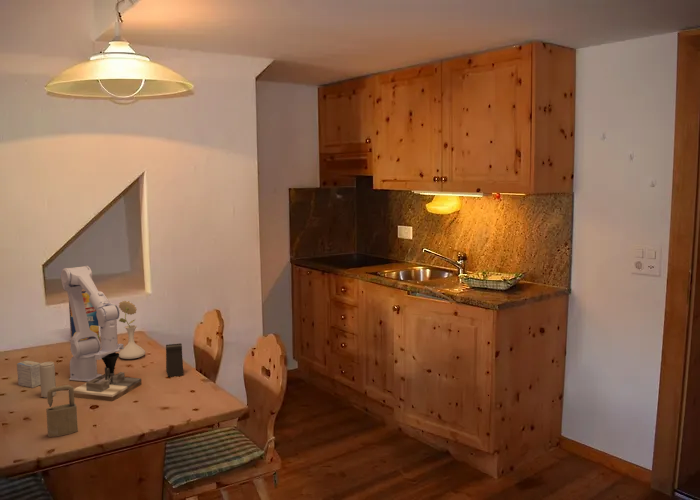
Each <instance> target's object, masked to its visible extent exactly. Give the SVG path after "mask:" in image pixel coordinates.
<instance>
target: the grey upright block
mask: <svg viewBox="0 0 700 500" xmlns="http://www.w3.org/2000/svg"><path fill="white" fill-rule="evenodd" d="M41 363H42V362H38V361H33V360H24V361H20V362H18V363H16V372H17V383H18V386H22V387H26V388H31V389H32V388H36V387H39V386H41V382H40V364H41Z"/></svg>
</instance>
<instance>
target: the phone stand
mask: <svg viewBox="0 0 700 500" xmlns="http://www.w3.org/2000/svg"><path fill="white" fill-rule="evenodd" d="M165 371H166V375H167V378H173V377H174V376H176V377H182V376H183V377H184V361H183V345H182V343H169V344H166V345H165Z"/></svg>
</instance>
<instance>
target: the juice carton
mask: <svg viewBox="0 0 700 500" xmlns="http://www.w3.org/2000/svg"><path fill="white" fill-rule="evenodd" d="M82 296H83V301H84V305H85V310H86V314H87V319H88V323H89V328H90V330H91V331H93V332H95V333H96V334H97V336H98V339H99V340H100V326H99V324H98V319H97V316H96V313H97V312H96V310H95V309H94V307H93V306H92V304H91V303H90V301H89V298H90V296H89V295H88V294H87V292H86V291H85V290H82ZM68 308H69V309H68V310H69V327H70V329H69V330H70V339H71V338H72V337H73V336H74V335H75V334H76V330H75V325H74V321H73V316H72V311H71V307H70V302H69V301H68ZM86 339H89V338H85V339H81V340H86ZM81 340H78V341H81Z"/></svg>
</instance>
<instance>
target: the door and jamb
mask: <svg viewBox="0 0 700 500" xmlns="http://www.w3.org/2000/svg"><path fill="white" fill-rule="evenodd" d="M110 377H112V382H111V383H110V384H109V380H104V381H102V382H100V383H95V382H97V381H99V380H101V379H103V378H105V373H104V374H102V375H101V376H99V377H97V378H95V379H93V380H91V381H89V382H85V383H83V384H82V385H80V386H77V387H75V388H73V389H74V398H78V399H87V400H97V401H107V402H113V401H115V400H117V399H118V398H120V397H122V396H124V395H126V394H127V393H129V392H131V391H132V390H134V389H136V388H138V387H139V386H141V385H142V378H141V377H130V376H125V372H124V371H120V372H118V373H116V374H115V372H114V373H110Z"/></svg>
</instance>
